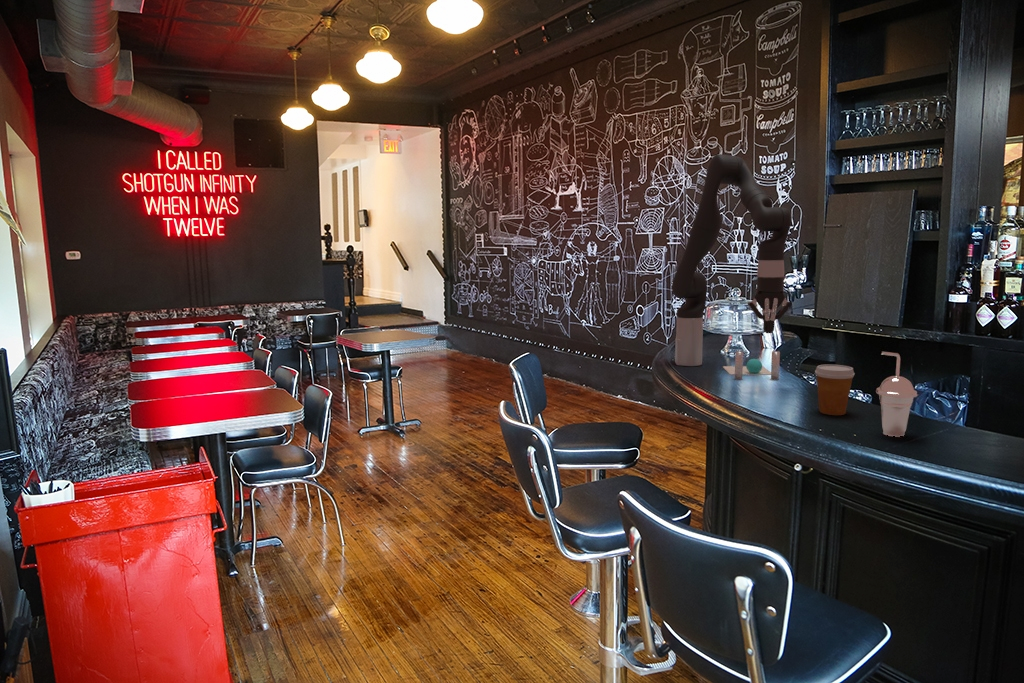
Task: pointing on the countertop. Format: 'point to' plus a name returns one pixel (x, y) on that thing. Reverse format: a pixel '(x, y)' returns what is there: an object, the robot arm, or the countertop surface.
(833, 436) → the countertop surface
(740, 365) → the post
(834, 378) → the disposable coffee cup
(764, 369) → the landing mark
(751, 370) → the ball
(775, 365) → the post
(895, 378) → the cup with straw
